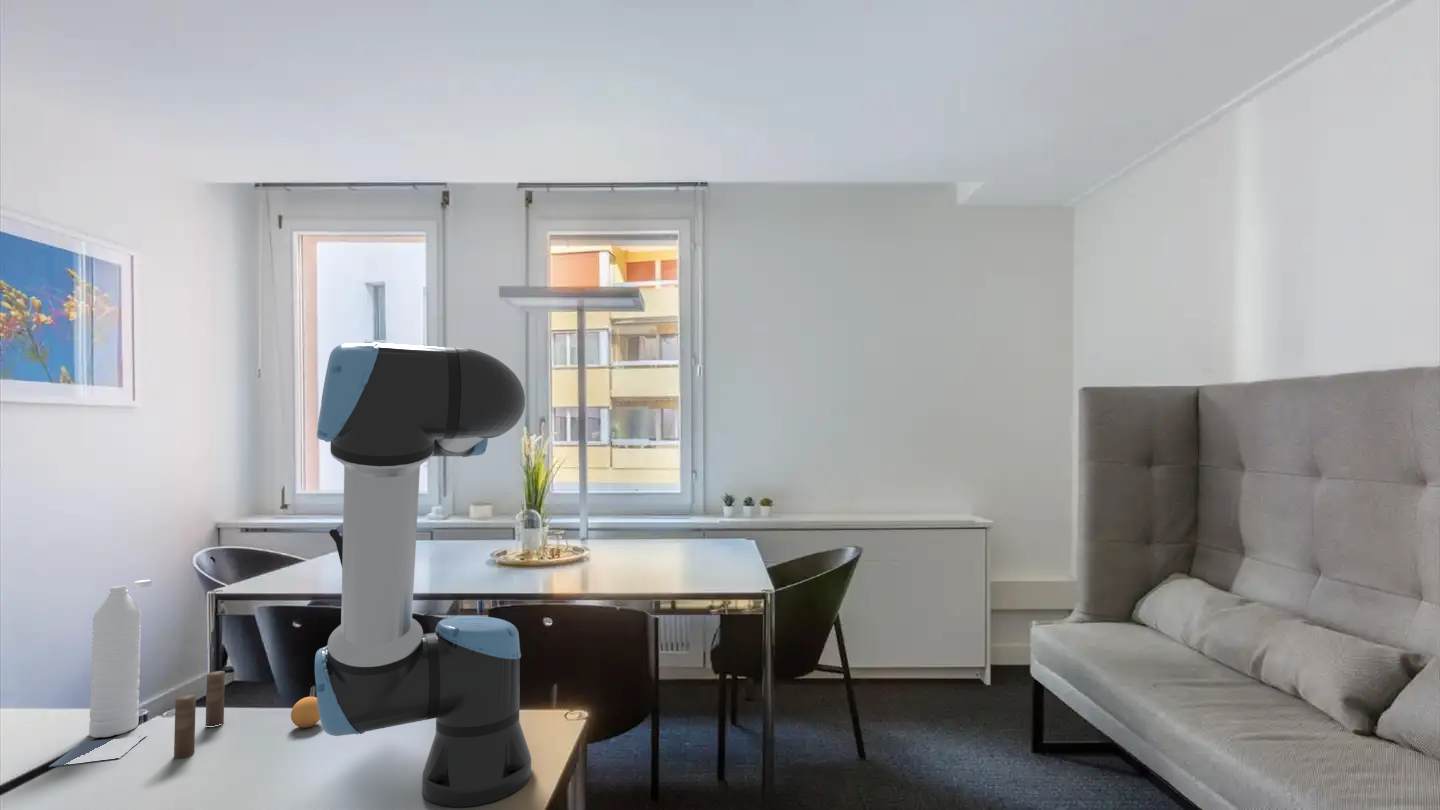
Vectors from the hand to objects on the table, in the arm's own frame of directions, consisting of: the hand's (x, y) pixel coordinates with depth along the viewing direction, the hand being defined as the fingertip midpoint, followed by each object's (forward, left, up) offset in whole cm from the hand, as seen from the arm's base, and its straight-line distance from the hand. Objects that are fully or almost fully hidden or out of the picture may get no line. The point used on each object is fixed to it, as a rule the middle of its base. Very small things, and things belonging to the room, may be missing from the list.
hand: (368, 619), depth 125 cm
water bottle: (+10, +41, -18) cm, 46 cm away
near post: (-6, +25, -18) cm, 32 cm away
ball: (0, +9, -15) cm, 18 cm away
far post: (+6, +25, -18) cm, 32 cm away
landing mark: (0, +39, -18) cm, 43 cm away
